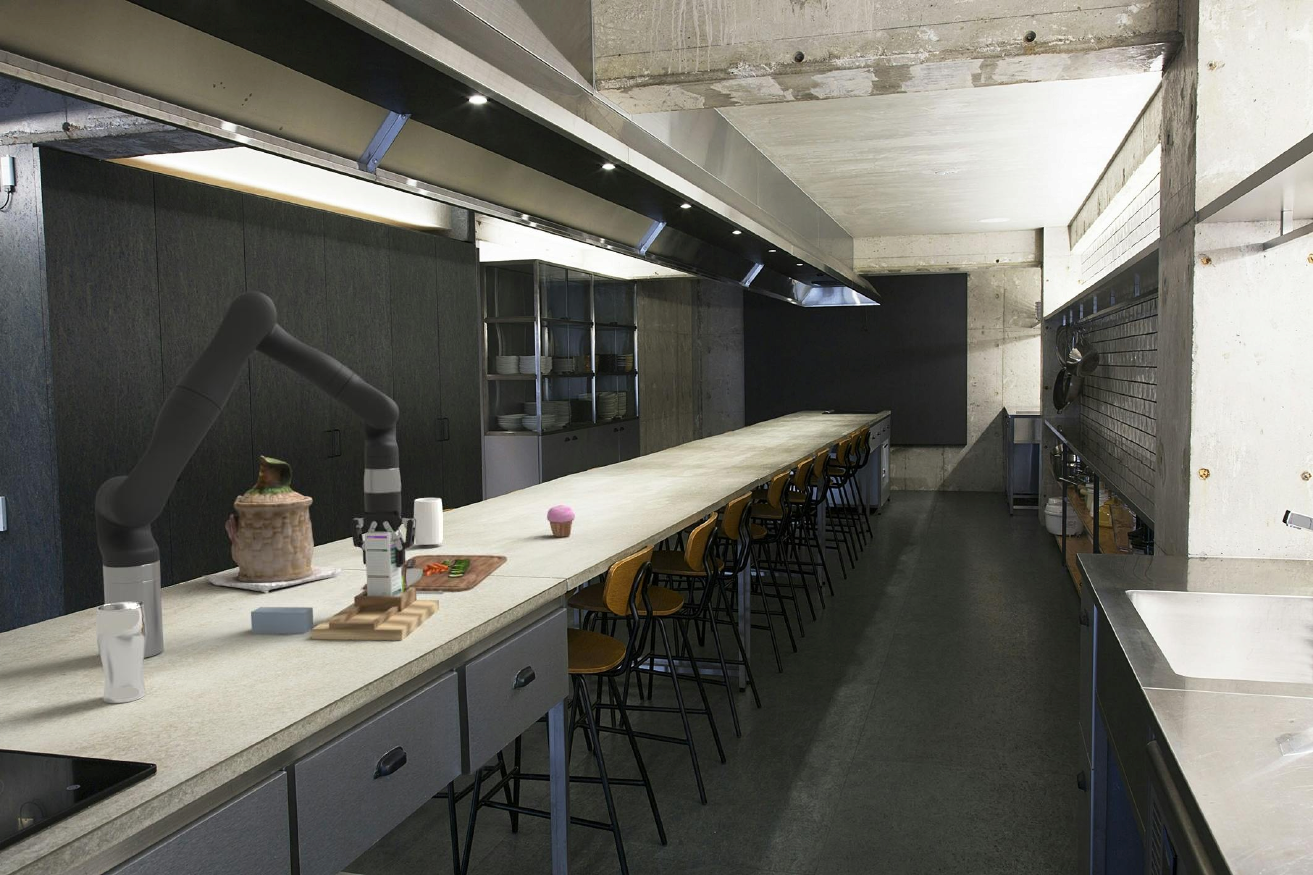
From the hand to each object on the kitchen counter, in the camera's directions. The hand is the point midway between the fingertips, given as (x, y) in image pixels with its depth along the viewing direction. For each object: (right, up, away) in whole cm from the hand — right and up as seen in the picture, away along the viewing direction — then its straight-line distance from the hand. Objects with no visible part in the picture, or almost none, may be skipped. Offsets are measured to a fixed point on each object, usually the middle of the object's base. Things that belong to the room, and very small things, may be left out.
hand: (384, 566), depth 203 cm
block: (-18, -12, -11) cm, 24 cm away
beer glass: (-28, -15, -50) cm, 59 cm away
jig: (+1, -11, -6) cm, 13 cm away
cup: (-10, -5, +82) cm, 82 cm away
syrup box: (0, -7, +1) cm, 7 cm away
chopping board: (+2, -8, +43) cm, 44 cm away
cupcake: (+28, -4, +97) cm, 101 cm away
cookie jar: (-39, -9, +37) cm, 54 cm away
